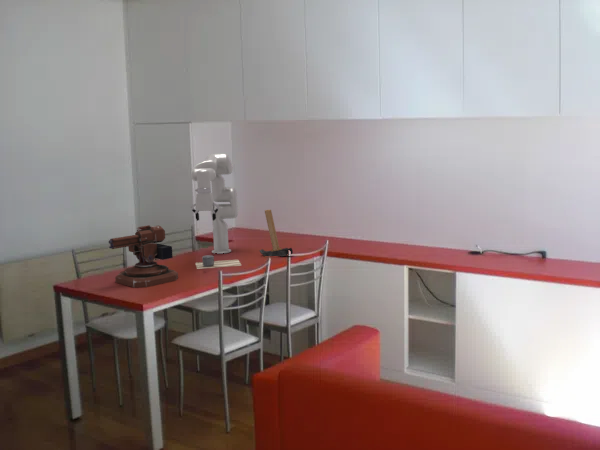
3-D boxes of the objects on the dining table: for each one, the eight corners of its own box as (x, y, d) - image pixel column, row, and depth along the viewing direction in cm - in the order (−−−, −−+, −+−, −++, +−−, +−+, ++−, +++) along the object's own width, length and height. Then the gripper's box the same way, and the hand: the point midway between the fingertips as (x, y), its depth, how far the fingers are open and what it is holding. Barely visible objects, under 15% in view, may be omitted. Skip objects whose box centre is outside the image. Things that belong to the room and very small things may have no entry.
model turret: (100, 283, 381) (95, 229, 377) (154, 272, 405) (151, 221, 401) (126, 291, 362) (122, 234, 357) (182, 279, 385) (179, 225, 381)
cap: (209, 266, 407) (208, 257, 407) (199, 265, 411) (199, 256, 410) (216, 263, 413) (215, 255, 412) (206, 262, 417) (206, 254, 416)
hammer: (261, 259, 441) (251, 213, 438) (264, 258, 446) (254, 212, 443) (290, 255, 434) (280, 207, 431) (293, 253, 439) (283, 206, 436)
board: (195, 264, 422) (194, 254, 421) (238, 261, 427) (237, 251, 427) (197, 270, 405) (196, 260, 404) (241, 267, 410) (241, 257, 409)
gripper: (187, 192, 403) (189, 221, 405) (217, 191, 400) (218, 221, 403) (191, 190, 410) (193, 219, 413) (220, 190, 408) (222, 219, 410)
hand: (205, 220), depth 408 cm, fingers open, 9 cm apart
